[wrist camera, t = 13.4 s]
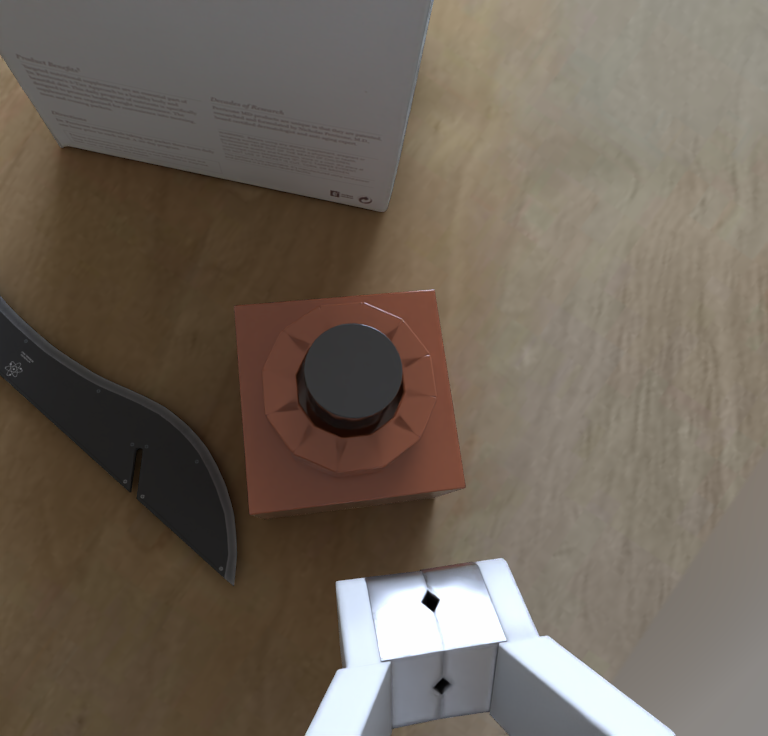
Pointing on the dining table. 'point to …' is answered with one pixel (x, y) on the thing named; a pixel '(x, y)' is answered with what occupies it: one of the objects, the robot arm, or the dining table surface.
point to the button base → (332, 445)
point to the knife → (126, 440)
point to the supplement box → (228, 85)
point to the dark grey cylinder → (352, 376)
